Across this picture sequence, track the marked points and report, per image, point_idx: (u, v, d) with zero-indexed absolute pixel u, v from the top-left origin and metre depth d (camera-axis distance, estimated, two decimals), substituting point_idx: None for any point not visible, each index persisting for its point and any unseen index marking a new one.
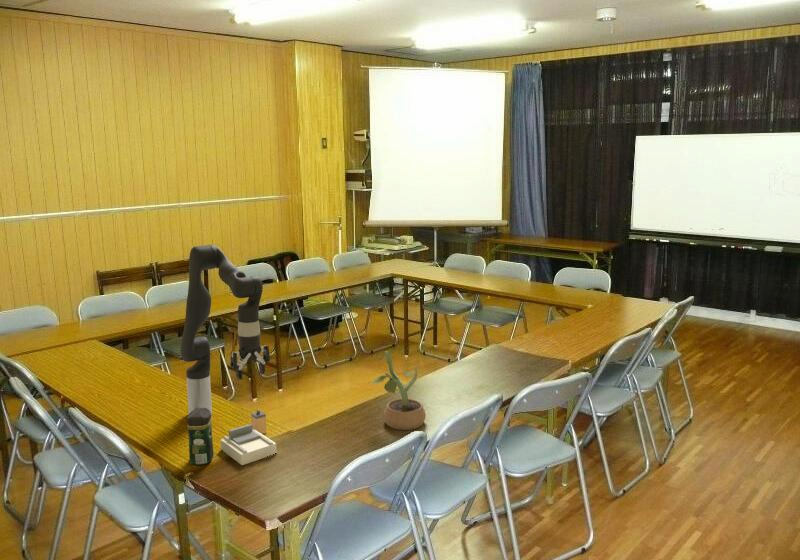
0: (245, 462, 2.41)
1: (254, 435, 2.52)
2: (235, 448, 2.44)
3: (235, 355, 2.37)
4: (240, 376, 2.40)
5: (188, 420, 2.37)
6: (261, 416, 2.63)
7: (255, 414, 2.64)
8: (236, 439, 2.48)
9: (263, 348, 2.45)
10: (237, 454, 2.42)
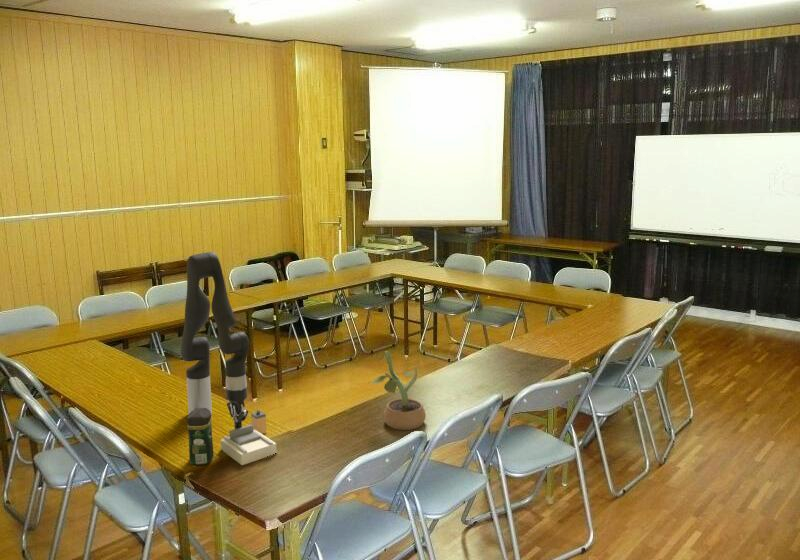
0: (245, 462, 2.41)
1: (255, 435, 2.52)
2: (235, 448, 2.44)
3: None
4: (241, 426, 2.54)
5: (188, 420, 2.37)
6: (261, 416, 2.63)
7: (255, 414, 2.64)
8: (237, 439, 2.48)
9: None
10: (237, 454, 2.42)
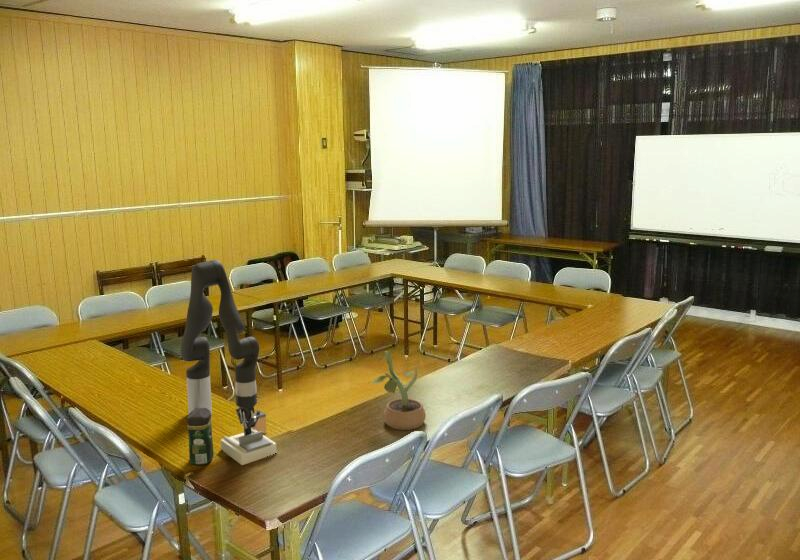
0: (245, 462, 2.41)
1: (265, 442, 2.46)
2: (235, 448, 2.44)
3: None
4: (250, 433, 2.49)
5: (188, 420, 2.37)
6: (261, 416, 2.63)
7: (255, 414, 2.64)
8: (246, 446, 2.43)
9: None
10: (237, 454, 2.42)
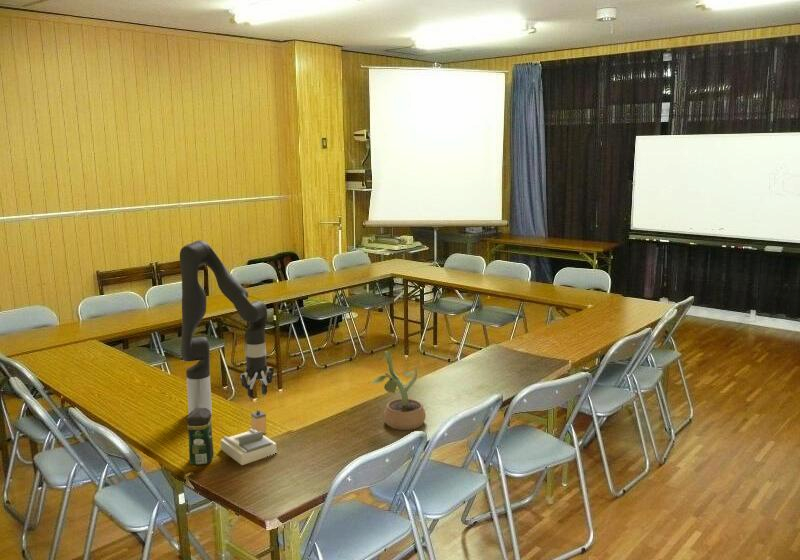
0: (245, 462, 2.41)
1: (265, 442, 2.46)
2: (235, 448, 2.44)
3: None
4: None
5: (188, 420, 2.37)
6: (261, 416, 2.63)
7: (255, 414, 2.64)
8: (246, 446, 2.43)
9: None
10: (237, 454, 2.42)
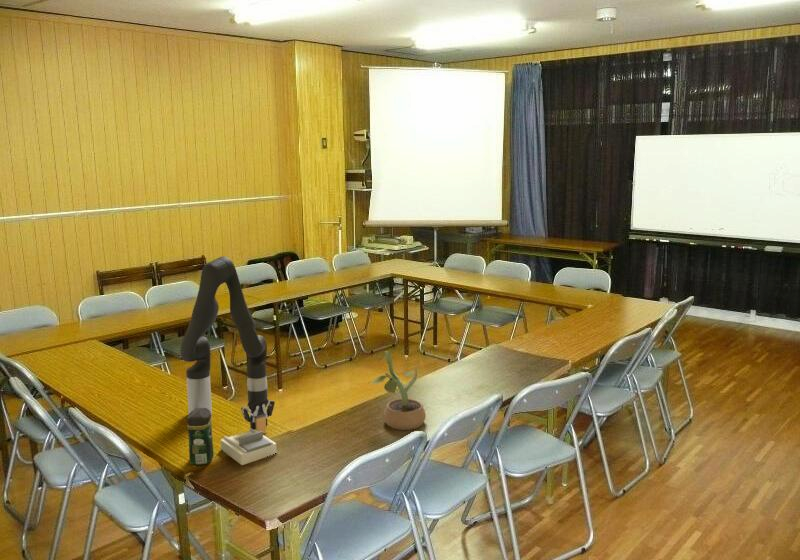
0: (245, 462, 2.41)
1: (265, 442, 2.46)
2: (235, 448, 2.44)
3: None
4: None
5: (188, 420, 2.37)
6: (261, 416, 2.63)
7: None
8: (246, 446, 2.43)
9: None
10: (237, 454, 2.42)
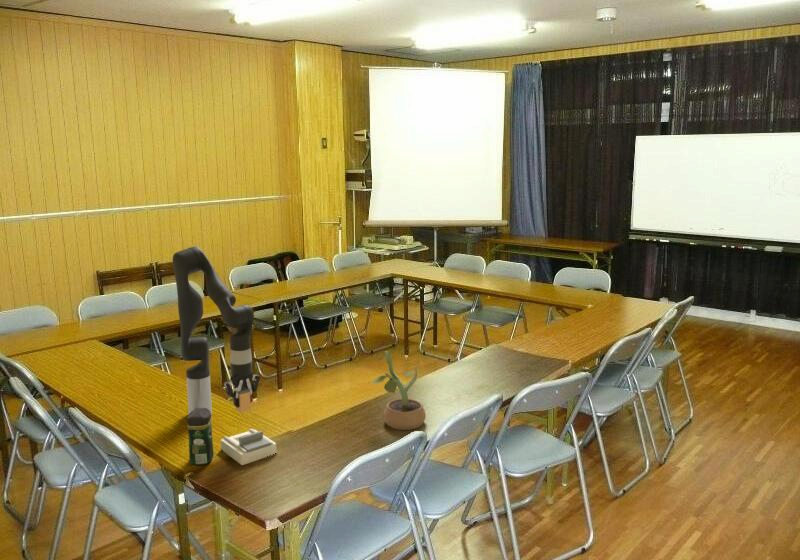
0: (245, 462, 2.41)
1: (265, 442, 2.46)
2: (235, 448, 2.44)
3: None
4: None
5: (188, 420, 2.37)
6: (245, 391, 2.46)
7: None
8: (246, 446, 2.43)
9: None
10: (237, 454, 2.42)
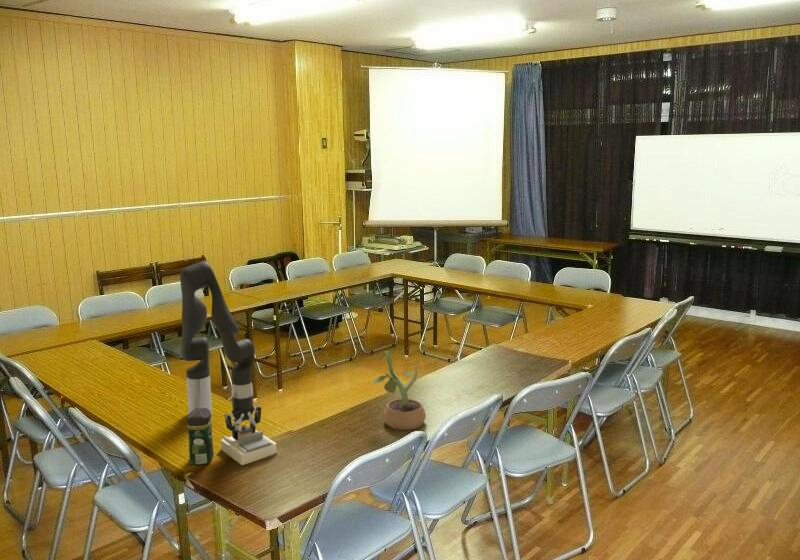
0: (245, 462, 2.41)
1: (265, 442, 2.46)
2: (235, 448, 2.44)
3: None
4: None
5: (188, 420, 2.37)
6: (246, 431, 2.49)
7: (240, 429, 2.50)
8: (246, 446, 2.43)
9: None
10: (237, 454, 2.42)
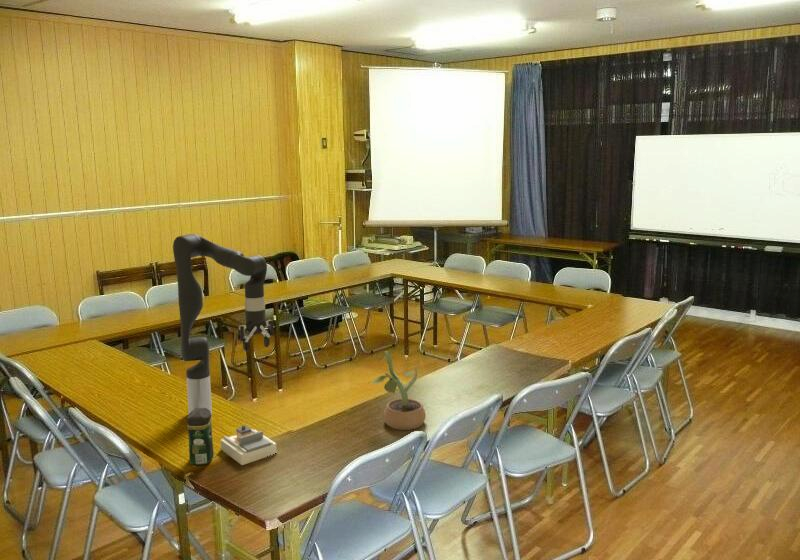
0: (245, 462, 2.41)
1: (265, 442, 2.46)
2: (235, 448, 2.44)
3: None
4: None
5: (188, 420, 2.37)
6: (246, 431, 2.49)
7: (240, 429, 2.50)
8: (246, 446, 2.43)
9: None
10: (237, 454, 2.42)
